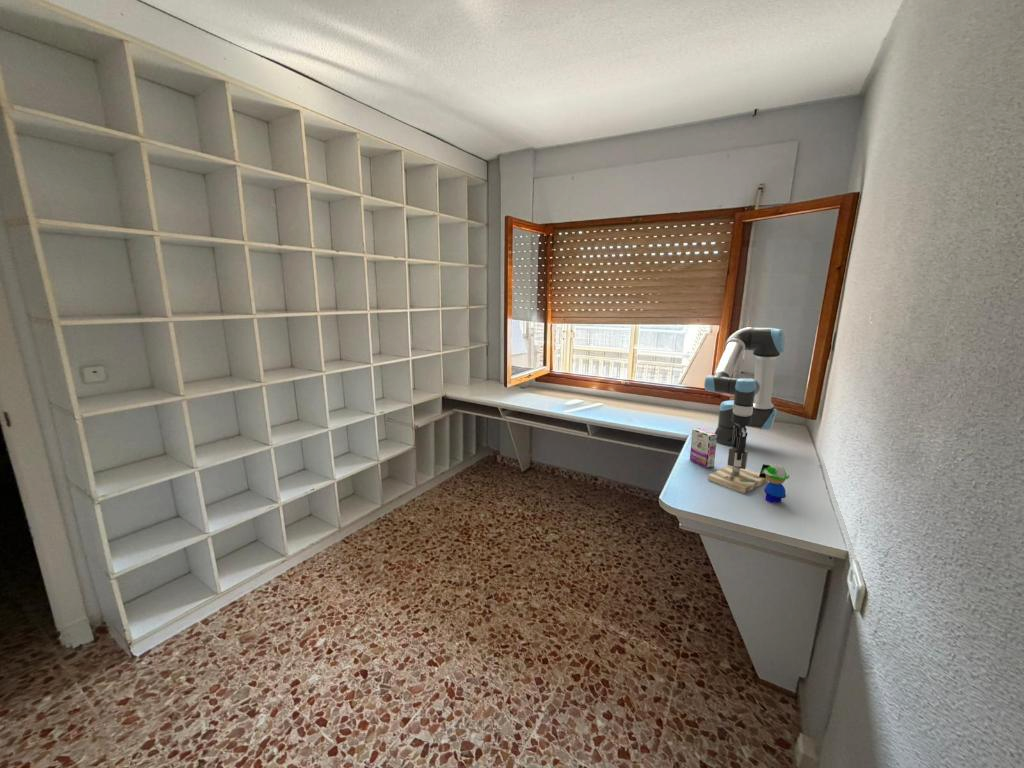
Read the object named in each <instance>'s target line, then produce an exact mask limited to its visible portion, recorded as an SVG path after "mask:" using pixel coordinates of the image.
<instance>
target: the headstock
mask: <svg viewBox="0 0 1024 768" xmlns="http://www.w3.org/2000/svg"><path fill="white" fill-rule="evenodd" d="M732 470H733V466H729V465H727V466H725V467H723V468H721V469H718V470H717V471H714V472H711V473H709V474H708V475H707V476H708V477H707V480H708V481H709V482H713V483H716V484H718V485H720V486H723V487H725V488H729V489H730V490H734V491H736V492H738V493H741V494H746V493H749V492H750V491H753V490H754V489H756V488H758V487H760V486H761V485H764V484H765V483H767V482H769V481H768V480H767V479H766V478H761V477H759V475H760V472H759V473H758V472H756V471H754V470H750V469H747V468H745V469H741V468H740V474H735V475H734V476H733V478H732V479H729V477H730V476H731V475H732V474H733V472H732Z"/></svg>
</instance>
